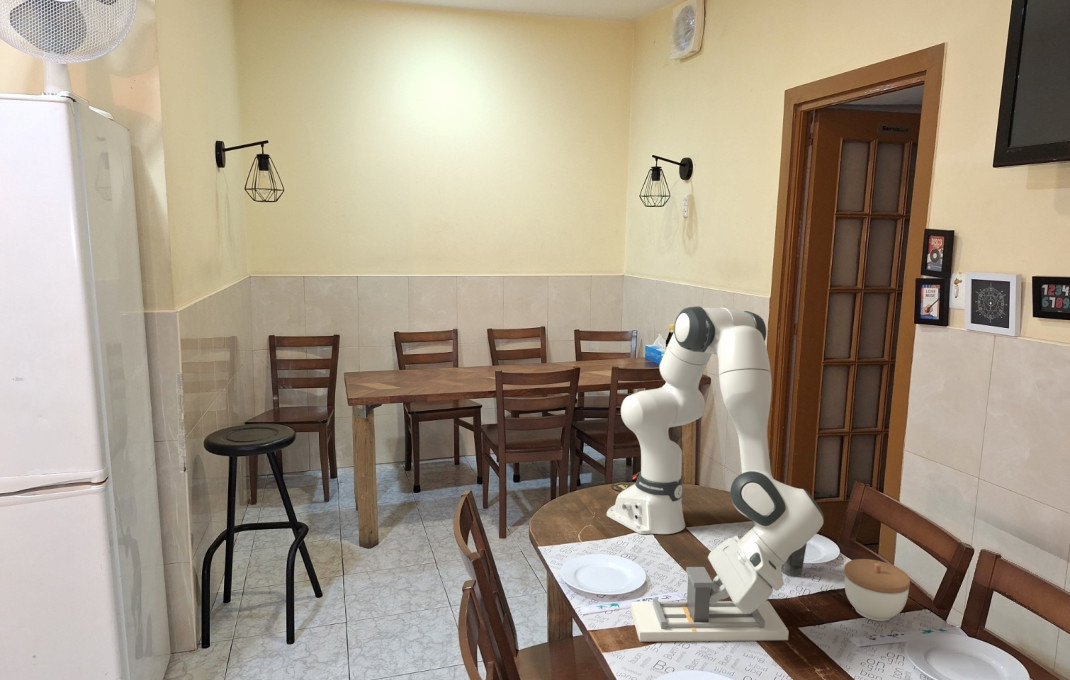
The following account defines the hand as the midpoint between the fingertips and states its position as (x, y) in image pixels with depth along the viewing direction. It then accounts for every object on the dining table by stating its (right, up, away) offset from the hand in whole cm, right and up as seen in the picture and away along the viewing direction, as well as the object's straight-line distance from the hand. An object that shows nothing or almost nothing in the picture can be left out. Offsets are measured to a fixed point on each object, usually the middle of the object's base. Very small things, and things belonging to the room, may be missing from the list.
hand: (708, 599), depth 138 cm
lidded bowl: (+37, -5, +6) cm, 38 cm away
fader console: (0, -6, +1) cm, 6 cm away
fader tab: (-2, -4, 0) cm, 4 cm away
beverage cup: (+26, -2, +23) cm, 34 cm away
